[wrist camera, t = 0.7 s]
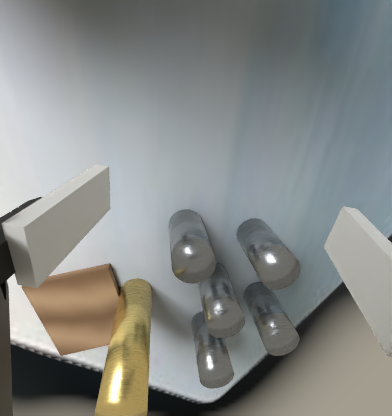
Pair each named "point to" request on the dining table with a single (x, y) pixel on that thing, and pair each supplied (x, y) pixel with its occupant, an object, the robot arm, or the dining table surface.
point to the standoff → (128, 354)
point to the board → (77, 307)
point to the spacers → (232, 292)
